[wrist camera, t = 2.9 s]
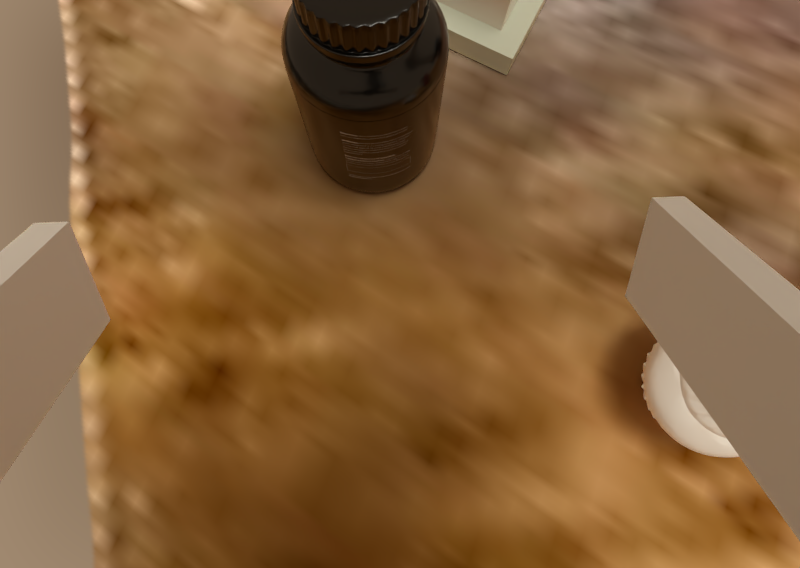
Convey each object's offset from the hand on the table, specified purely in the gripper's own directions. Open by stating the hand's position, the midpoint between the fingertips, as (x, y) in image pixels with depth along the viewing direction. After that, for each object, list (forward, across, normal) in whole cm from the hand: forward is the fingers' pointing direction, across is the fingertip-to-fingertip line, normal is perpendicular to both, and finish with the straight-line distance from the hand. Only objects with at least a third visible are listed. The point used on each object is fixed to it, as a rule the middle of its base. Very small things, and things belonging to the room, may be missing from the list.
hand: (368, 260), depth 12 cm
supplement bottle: (+18, 0, -3) cm, 18 cm away
